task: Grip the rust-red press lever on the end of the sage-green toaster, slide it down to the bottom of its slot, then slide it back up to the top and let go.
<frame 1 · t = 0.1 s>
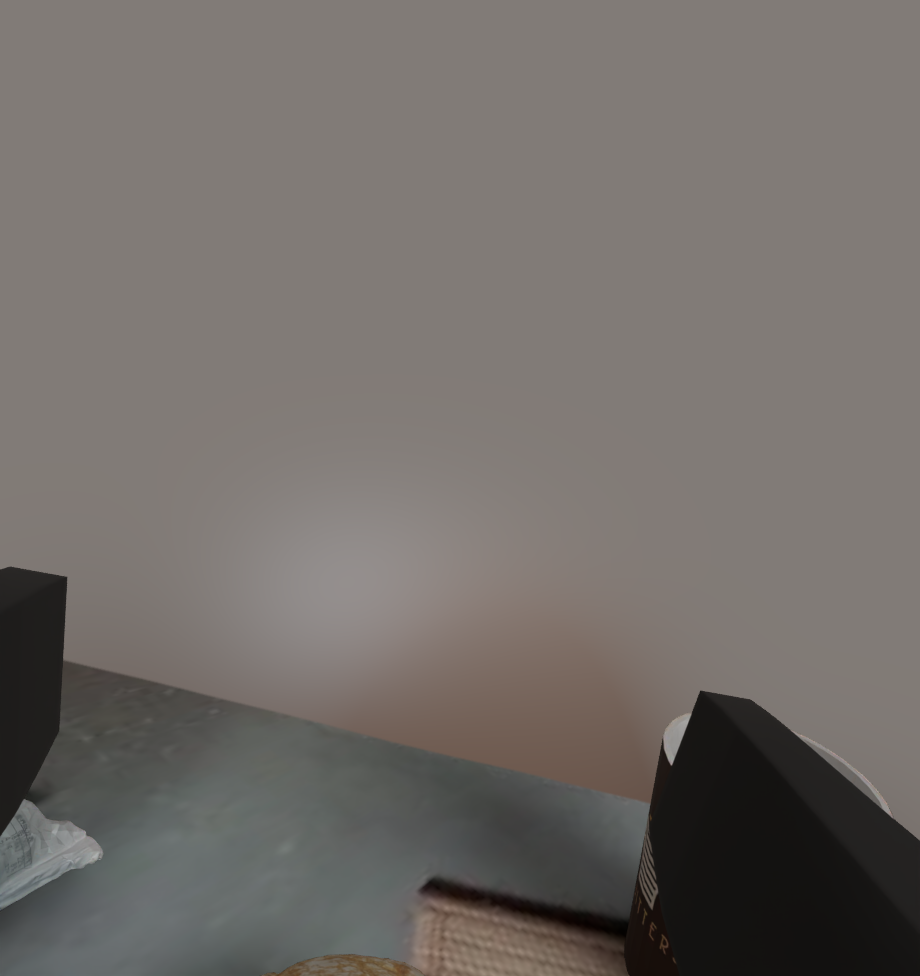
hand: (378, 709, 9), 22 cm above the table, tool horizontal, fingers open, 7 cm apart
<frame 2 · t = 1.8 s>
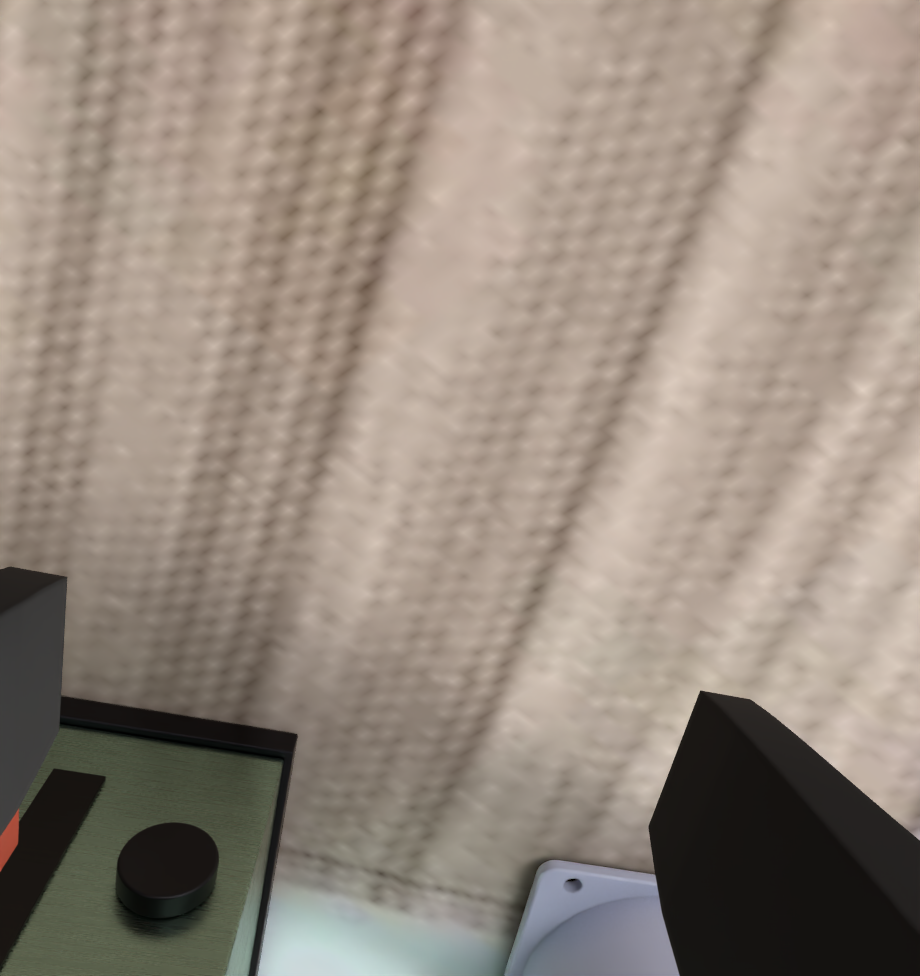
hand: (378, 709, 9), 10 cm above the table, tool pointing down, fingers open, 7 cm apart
toaster: (103, 919, 24), on the table
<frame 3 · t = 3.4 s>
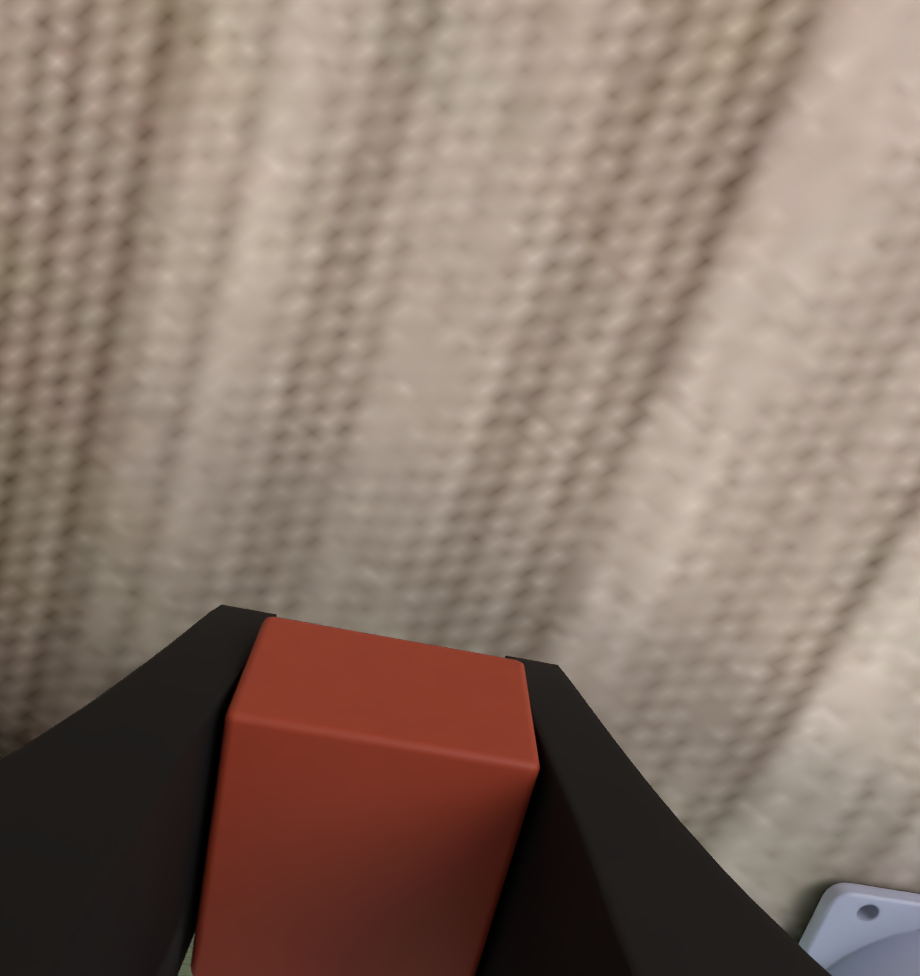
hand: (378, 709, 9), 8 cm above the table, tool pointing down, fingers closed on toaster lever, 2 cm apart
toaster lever: (334, 944, 9), point 9 cm above the table, slide at 5.5 cm, touching gripper
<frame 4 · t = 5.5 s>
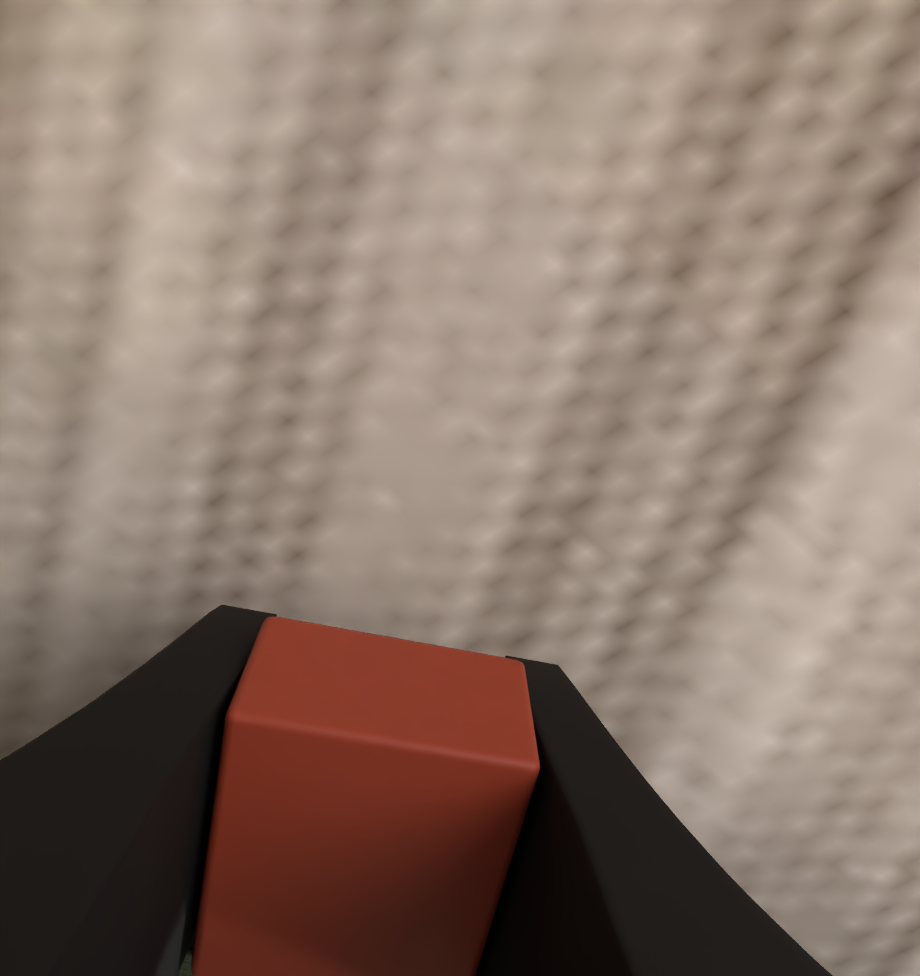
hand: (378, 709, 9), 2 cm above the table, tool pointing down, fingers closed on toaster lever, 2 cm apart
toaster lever: (334, 944, 9), point 4 cm above the table, slide at -0.1 cm, touching gripper
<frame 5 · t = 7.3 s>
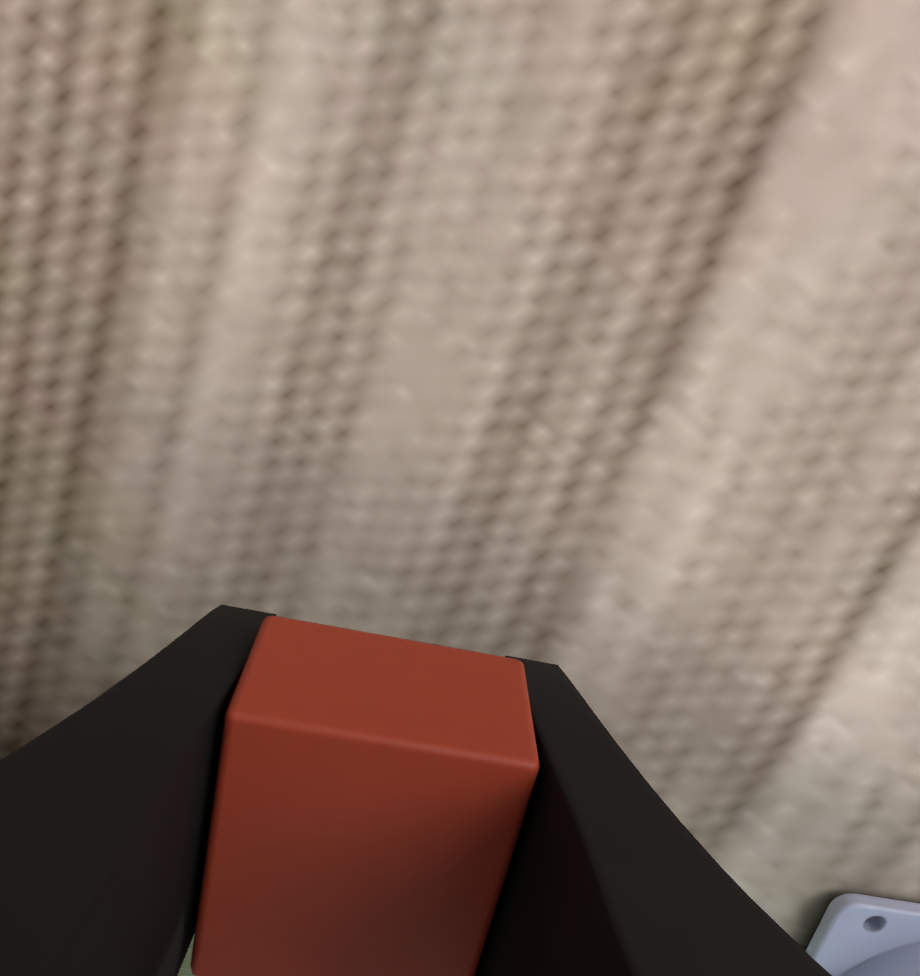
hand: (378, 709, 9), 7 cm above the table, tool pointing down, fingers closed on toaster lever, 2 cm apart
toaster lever: (334, 943, 9), point 9 cm above the table, slide at 5.2 cm, touching gripper
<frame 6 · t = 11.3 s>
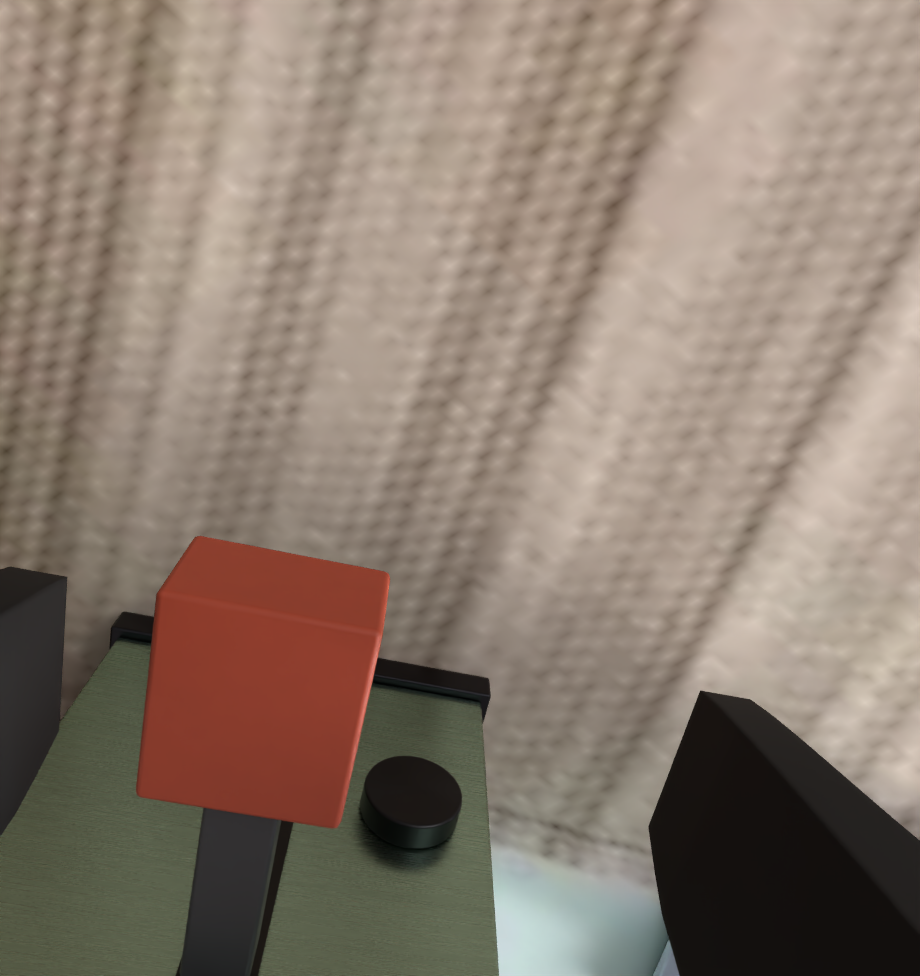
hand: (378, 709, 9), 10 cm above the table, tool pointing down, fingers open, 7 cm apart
toaster: (267, 871, 24), on the table
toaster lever: (248, 787, 11), point 9 cm above the table, slide at 5.6 cm
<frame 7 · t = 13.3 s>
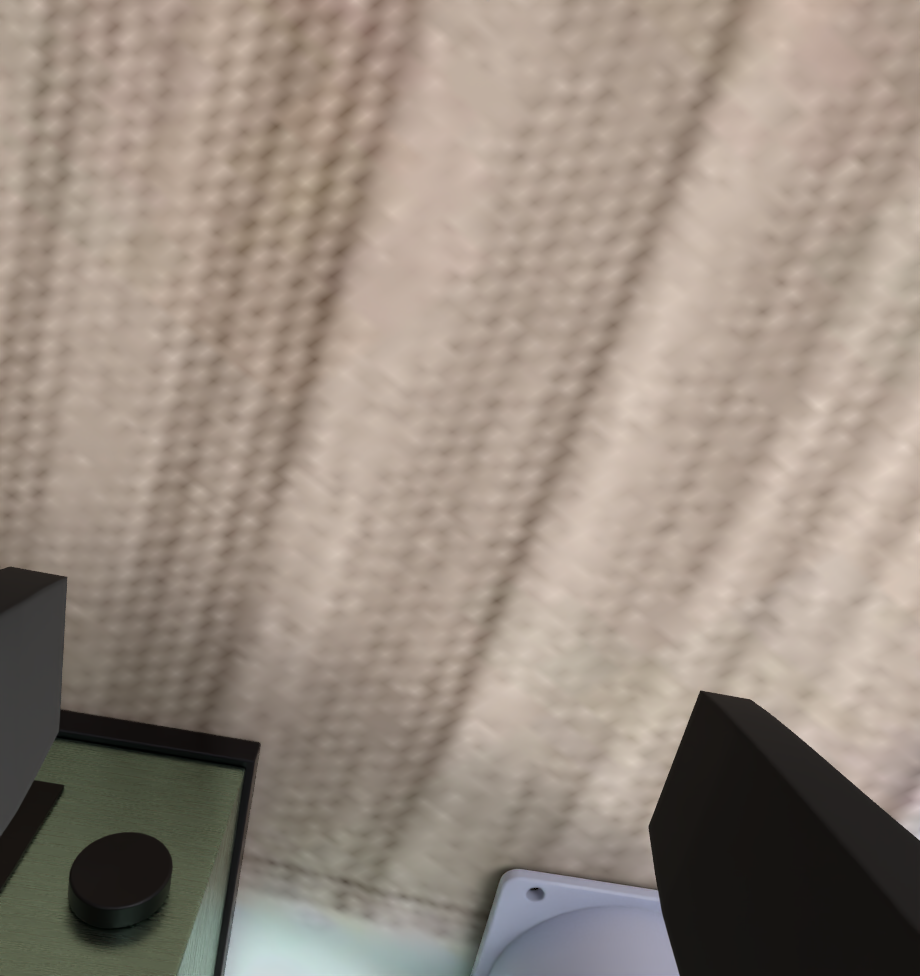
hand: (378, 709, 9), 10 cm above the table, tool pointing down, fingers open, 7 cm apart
toaster: (68, 925, 24), on the table
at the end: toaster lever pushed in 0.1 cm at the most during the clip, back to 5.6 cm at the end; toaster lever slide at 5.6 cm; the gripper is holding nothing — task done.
